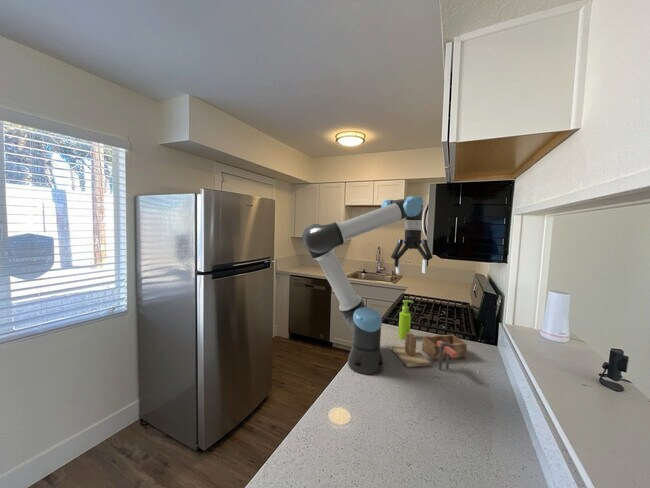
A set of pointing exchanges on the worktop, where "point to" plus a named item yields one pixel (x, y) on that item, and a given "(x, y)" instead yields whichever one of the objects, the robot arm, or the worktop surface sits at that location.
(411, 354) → the wooden board with post
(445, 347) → the red bar
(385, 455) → the worktop surface
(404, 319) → the soap dispenser
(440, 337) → the toolbox
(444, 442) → the worktop surface
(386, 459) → the worktop surface
